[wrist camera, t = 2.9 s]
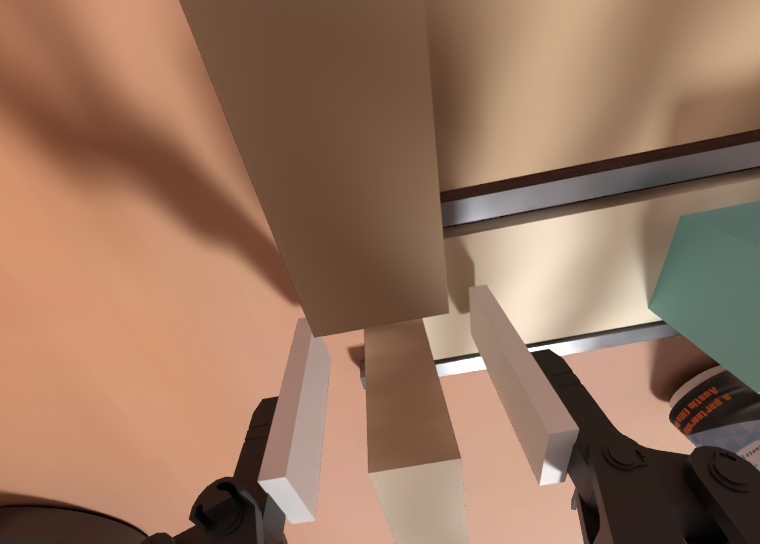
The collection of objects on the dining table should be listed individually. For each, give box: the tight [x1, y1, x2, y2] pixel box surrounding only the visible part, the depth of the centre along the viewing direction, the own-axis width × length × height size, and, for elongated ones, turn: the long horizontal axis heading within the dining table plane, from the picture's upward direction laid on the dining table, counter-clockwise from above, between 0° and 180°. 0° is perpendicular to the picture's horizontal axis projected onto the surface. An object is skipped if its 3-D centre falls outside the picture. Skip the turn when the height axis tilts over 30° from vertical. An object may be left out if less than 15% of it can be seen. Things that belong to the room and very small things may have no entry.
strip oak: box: [179, 0, 760, 338], centre depth 7 cm, size 20×7×9 cm, turn 100°
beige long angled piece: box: [364, 168, 760, 544], centre depth 11 cm, size 20×7×9 cm, turn 100°
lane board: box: [360, 130, 760, 390], centre depth 12 cm, size 24×19×3 cm
